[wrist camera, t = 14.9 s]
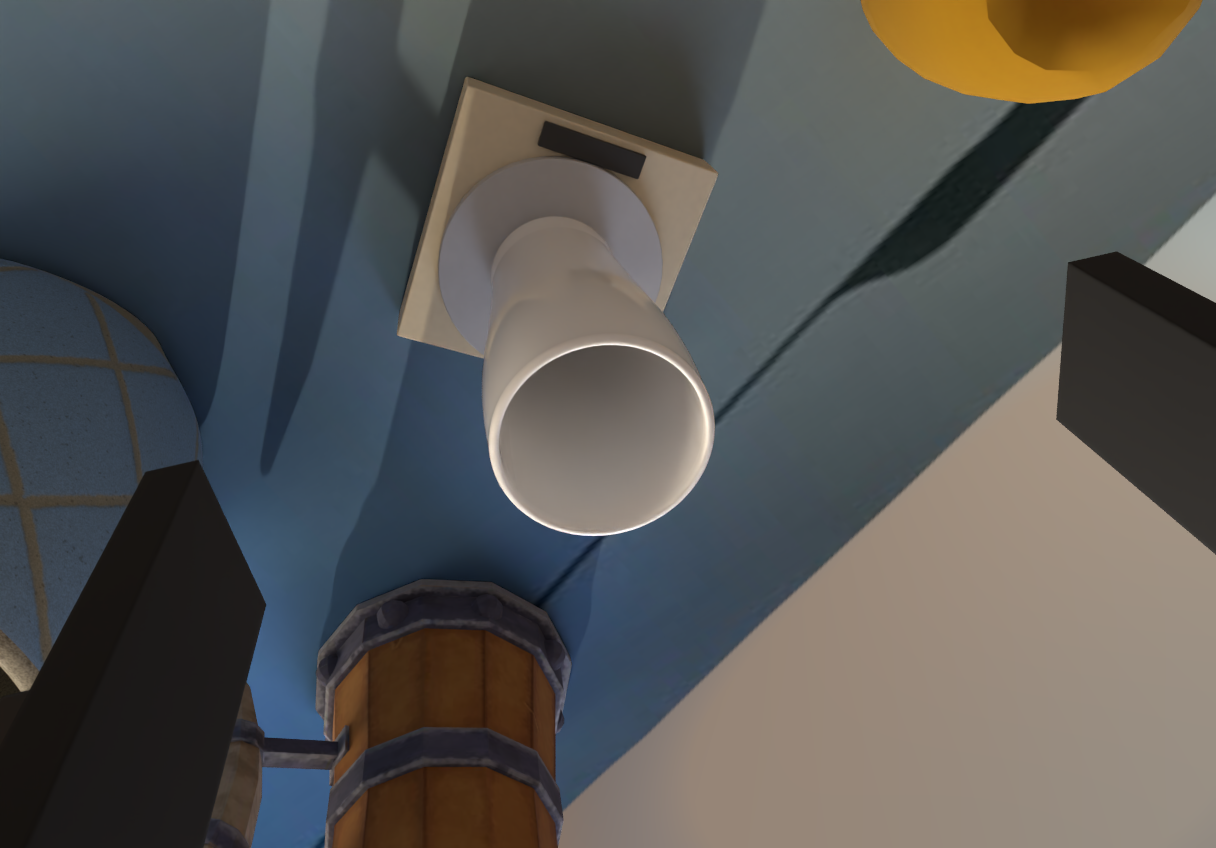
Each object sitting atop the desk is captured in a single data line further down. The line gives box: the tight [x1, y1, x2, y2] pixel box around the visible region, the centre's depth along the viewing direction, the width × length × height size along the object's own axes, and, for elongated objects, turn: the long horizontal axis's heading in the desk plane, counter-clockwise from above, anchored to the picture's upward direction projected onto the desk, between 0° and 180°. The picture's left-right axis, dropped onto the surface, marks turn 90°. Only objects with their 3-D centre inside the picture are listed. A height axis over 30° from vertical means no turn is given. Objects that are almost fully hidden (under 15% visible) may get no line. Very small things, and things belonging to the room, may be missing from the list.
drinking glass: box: [482, 216, 715, 536], centre depth 34 cm, size 7×7×15 cm
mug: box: [203, 579, 572, 848], centre depth 44 cm, size 19×14×20 cm
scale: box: [397, 77, 718, 359], centre depth 41 cm, size 11×11×3 cm
